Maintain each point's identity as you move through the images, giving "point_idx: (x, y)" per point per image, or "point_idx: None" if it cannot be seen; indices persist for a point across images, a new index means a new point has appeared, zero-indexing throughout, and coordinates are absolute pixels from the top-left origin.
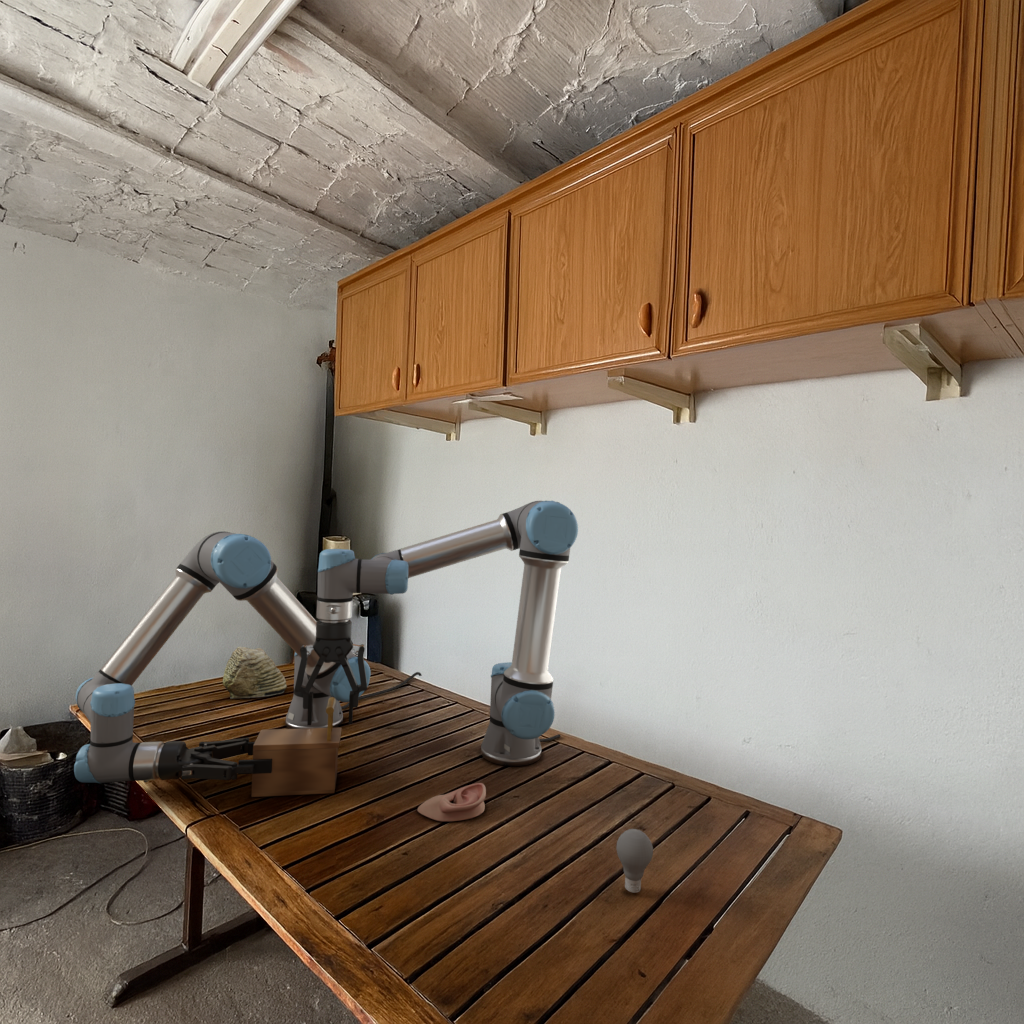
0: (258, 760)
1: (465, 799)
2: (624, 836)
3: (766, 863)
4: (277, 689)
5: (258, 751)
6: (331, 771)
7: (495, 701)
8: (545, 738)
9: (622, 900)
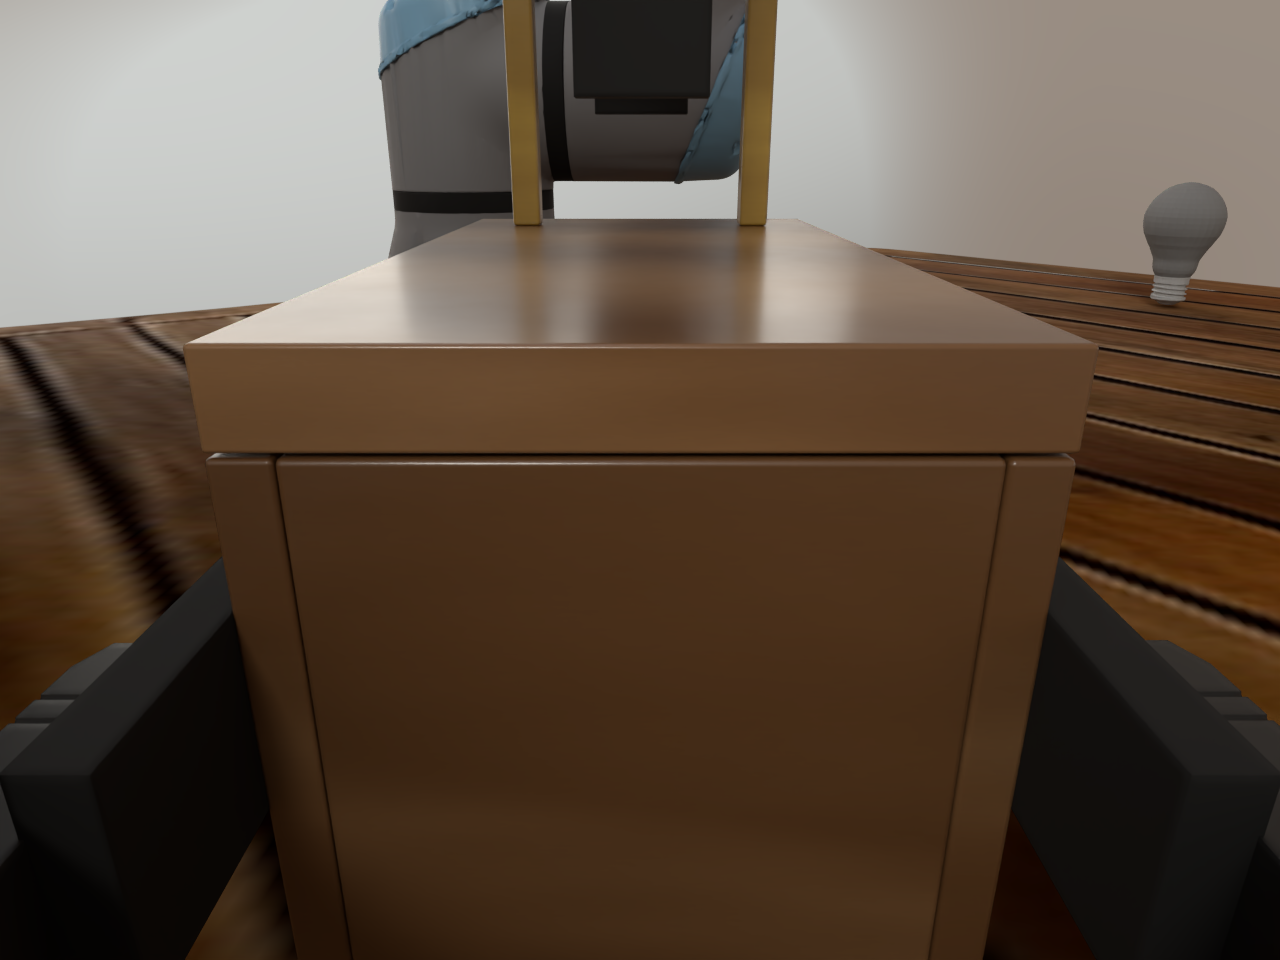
0: (1059, 561)
1: None
2: (1205, 192)
3: (990, 266)
4: None
5: None
6: None
7: (554, 100)
8: None
9: (1205, 311)
